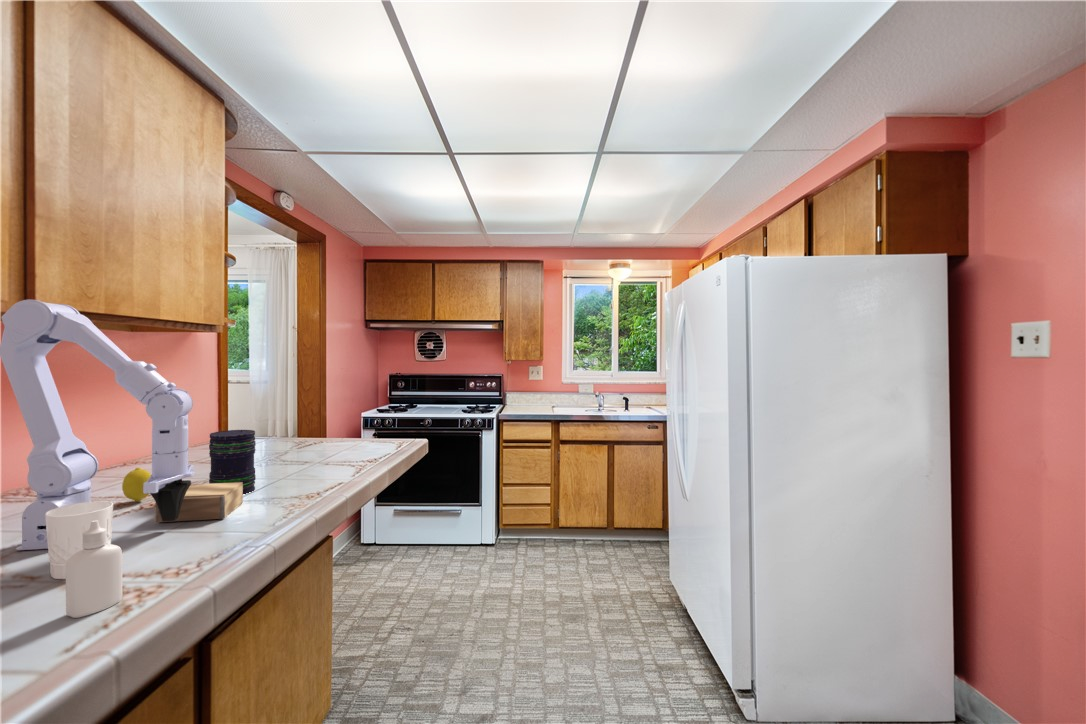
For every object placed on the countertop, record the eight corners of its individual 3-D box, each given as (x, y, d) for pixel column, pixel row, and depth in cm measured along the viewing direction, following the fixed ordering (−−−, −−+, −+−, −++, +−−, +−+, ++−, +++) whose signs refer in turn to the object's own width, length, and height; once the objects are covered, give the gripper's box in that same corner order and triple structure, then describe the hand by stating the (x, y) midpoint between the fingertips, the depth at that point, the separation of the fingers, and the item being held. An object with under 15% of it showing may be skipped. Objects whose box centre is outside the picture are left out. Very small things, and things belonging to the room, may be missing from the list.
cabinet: (224, 517, 103) (224, 494, 103) (159, 521, 100) (159, 497, 100) (242, 503, 113) (242, 482, 113) (183, 506, 110) (183, 484, 110)
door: (221, 520, 101) (222, 498, 101) (153, 524, 98) (153, 501, 98) (225, 517, 103) (225, 495, 103) (158, 521, 100) (158, 498, 100)
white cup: (122, 557, 83) (122, 498, 83) (99, 577, 76) (99, 513, 75) (62, 563, 80) (62, 503, 80) (33, 585, 73) (32, 518, 73)
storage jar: (234, 498, 116) (234, 436, 116) (198, 496, 118) (198, 435, 118) (264, 487, 126) (264, 430, 126) (231, 485, 128) (231, 429, 128)
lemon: (159, 498, 116) (159, 465, 116) (137, 506, 110) (137, 471, 110) (138, 498, 116) (138, 464, 116) (115, 505, 111) (115, 470, 111)
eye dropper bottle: (68, 608, 66) (68, 520, 66) (123, 595, 70) (122, 512, 70) (63, 622, 63) (63, 530, 63) (121, 608, 66) (120, 521, 66)
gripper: (174, 458, 90) (174, 531, 90) (209, 444, 104) (209, 507, 104) (130, 459, 88) (129, 534, 88) (171, 444, 102) (171, 509, 102)
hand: (170, 519), depth 96 cm, fingers closed
